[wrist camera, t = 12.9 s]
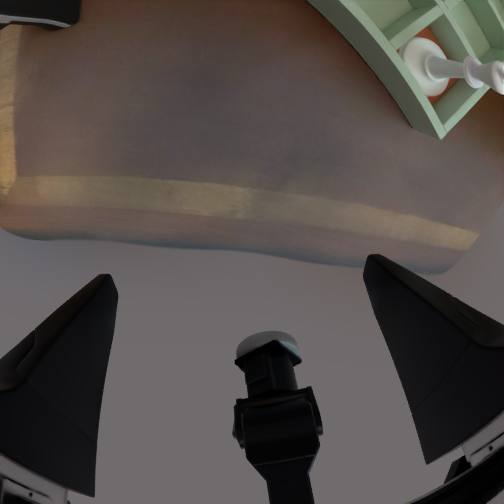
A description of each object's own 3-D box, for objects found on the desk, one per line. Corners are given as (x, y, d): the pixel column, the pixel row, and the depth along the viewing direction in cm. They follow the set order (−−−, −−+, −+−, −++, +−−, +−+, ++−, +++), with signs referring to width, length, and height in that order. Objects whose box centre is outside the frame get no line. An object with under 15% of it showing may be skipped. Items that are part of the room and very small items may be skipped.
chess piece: (435, 106, 16) (534, 143, 8) (389, 77, 15) (497, 96, 7) (450, 58, 14) (548, 76, 6) (405, 25, 13) (510, 20, 5)
